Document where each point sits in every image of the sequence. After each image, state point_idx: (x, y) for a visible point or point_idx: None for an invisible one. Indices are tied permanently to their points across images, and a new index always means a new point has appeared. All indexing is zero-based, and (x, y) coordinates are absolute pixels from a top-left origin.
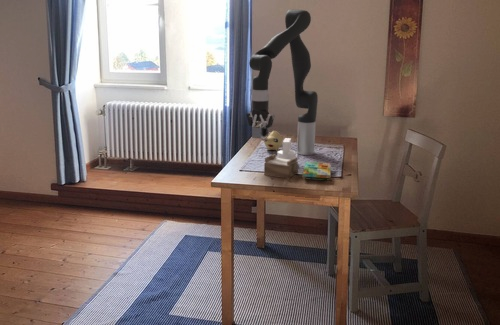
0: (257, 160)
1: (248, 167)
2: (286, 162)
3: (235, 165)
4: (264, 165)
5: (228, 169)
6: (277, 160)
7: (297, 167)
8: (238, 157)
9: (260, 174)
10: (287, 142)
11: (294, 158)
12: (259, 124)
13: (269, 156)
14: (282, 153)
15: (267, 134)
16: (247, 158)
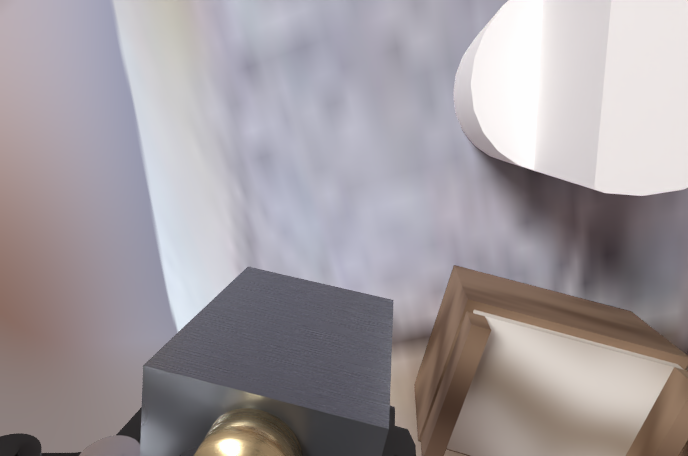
0: (283, 54)
1: (280, 258)
2: (594, 439)
3: (188, 233)
4: (417, 427)
5: (185, 325)
6: (513, 397)
7: (656, 332)
8: (120, 9)
9: (391, 383)
10: (667, 190)
11: (684, 428)
12: (158, 400)
13: (447, 402)
14: (536, 171)
15: (410, 439)
16: (193, 16)
